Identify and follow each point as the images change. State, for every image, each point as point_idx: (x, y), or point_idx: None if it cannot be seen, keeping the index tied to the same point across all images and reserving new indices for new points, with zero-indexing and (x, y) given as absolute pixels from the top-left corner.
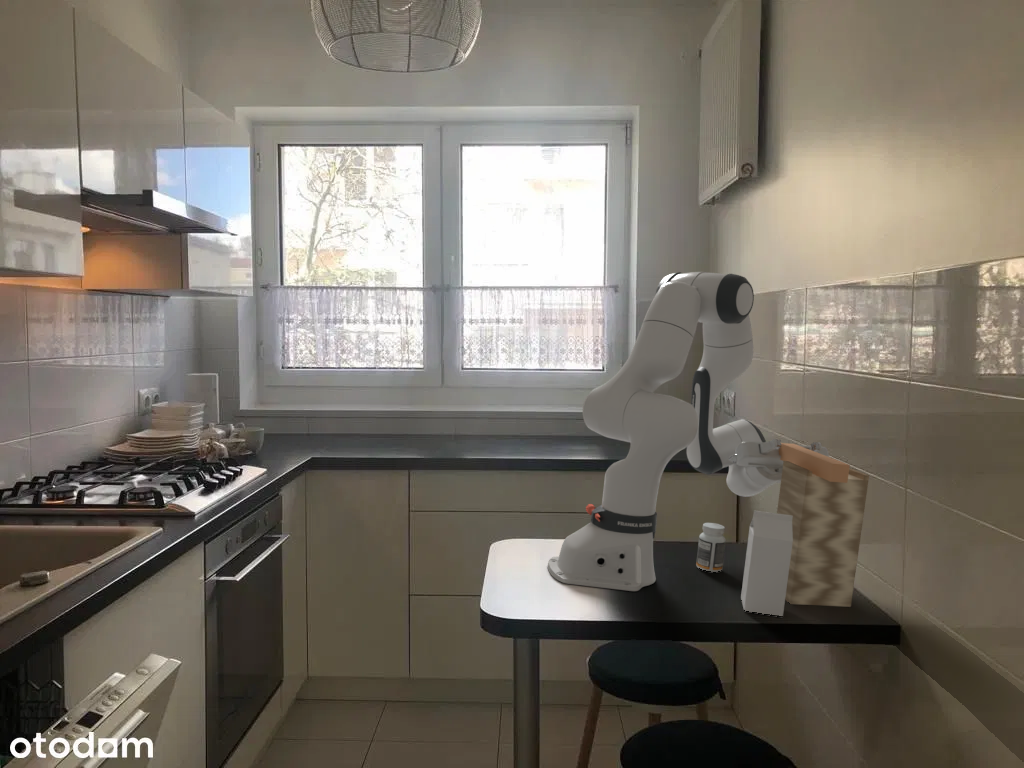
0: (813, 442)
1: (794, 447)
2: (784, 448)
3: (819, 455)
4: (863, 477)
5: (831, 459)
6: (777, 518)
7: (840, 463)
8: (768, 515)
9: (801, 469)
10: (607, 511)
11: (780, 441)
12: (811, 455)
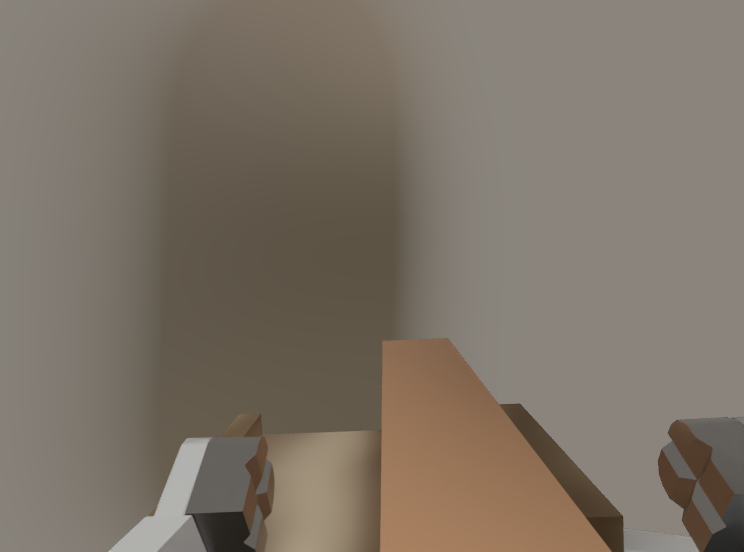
0: (255, 451)
1: (509, 477)
2: None
3: (421, 380)
4: (260, 426)
5: (406, 358)
6: (636, 545)
7: (409, 342)
8: (672, 544)
9: (535, 424)
10: None
11: (674, 430)
12: (475, 374)
